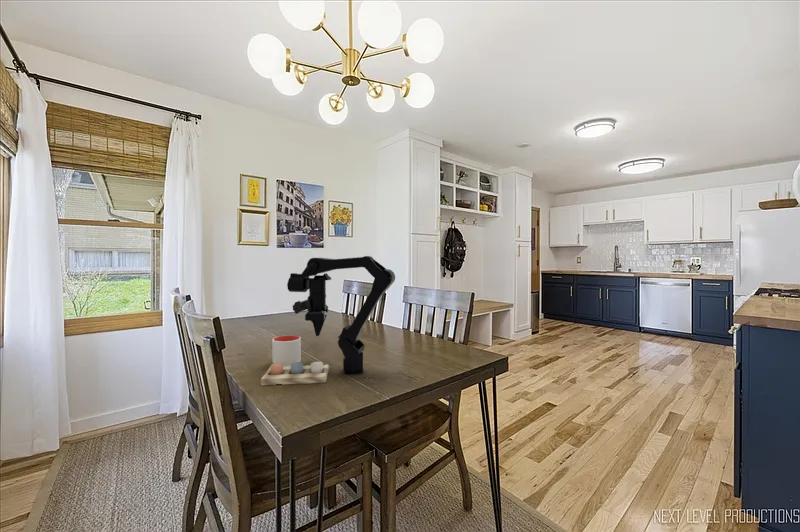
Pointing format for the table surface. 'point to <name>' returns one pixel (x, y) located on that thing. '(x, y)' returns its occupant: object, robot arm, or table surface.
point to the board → (295, 376)
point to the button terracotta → (276, 369)
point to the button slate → (297, 368)
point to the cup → (286, 349)
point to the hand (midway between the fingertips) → (317, 335)
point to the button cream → (317, 367)
